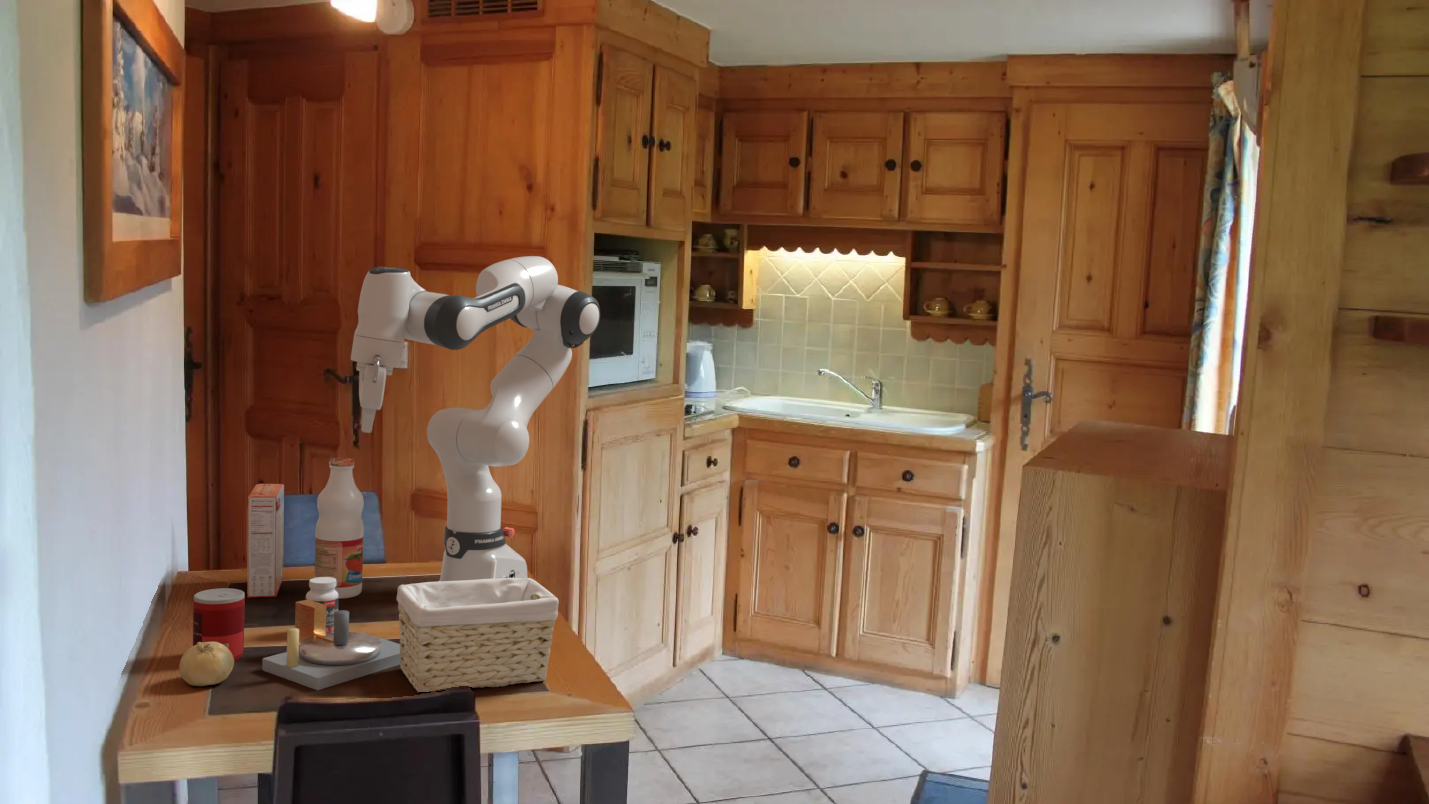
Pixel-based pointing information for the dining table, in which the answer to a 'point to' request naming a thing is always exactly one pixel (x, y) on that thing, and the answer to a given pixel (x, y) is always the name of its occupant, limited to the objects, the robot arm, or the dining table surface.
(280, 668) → the post board
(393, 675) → the dining table surface
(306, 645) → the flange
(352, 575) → the fruit juice
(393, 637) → the dining table surface
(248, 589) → the cracker box
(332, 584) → the pill bottle
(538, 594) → the storage basket
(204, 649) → the onion
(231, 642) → the canned food
